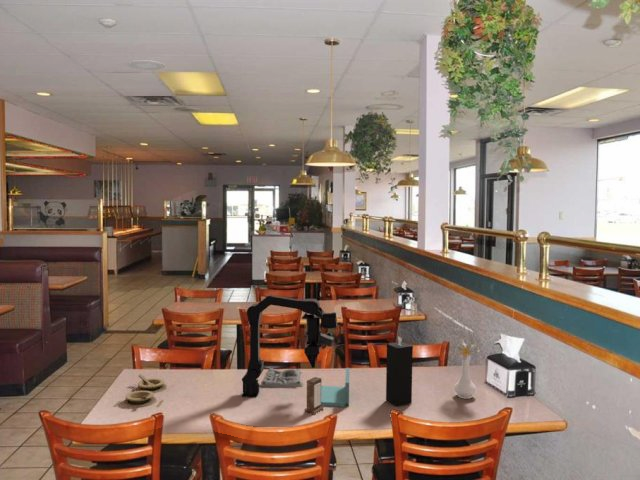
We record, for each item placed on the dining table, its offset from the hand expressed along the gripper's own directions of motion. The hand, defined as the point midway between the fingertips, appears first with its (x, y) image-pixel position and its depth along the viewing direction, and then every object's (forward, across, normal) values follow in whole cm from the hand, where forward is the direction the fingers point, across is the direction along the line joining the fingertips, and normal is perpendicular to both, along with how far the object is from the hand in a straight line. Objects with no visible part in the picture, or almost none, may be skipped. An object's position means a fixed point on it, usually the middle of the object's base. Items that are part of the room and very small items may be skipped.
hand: (314, 364), depth 236 cm
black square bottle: (+16, -2, -36) cm, 39 cm away
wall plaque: (+14, +22, +17) cm, 32 cm away
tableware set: (+12, -5, +74) cm, 75 cm away
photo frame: (+14, -16, -1) cm, 21 cm away
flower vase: (+17, +9, -64) cm, 67 cm away
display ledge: (+15, 0, -6) cm, 16 cm away
